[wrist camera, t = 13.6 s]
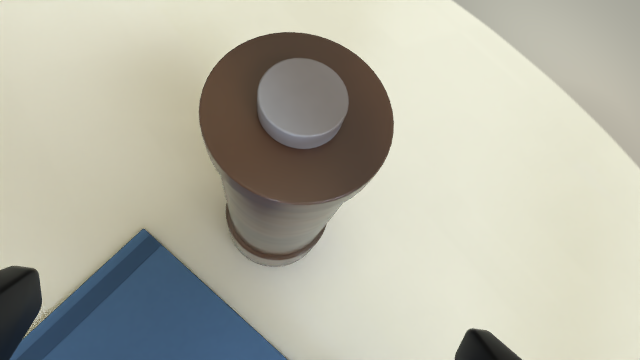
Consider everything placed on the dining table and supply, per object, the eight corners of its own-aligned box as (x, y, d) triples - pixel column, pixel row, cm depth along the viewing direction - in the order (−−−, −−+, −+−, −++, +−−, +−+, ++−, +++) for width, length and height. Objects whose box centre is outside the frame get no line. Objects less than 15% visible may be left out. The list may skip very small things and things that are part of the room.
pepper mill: (279, 286, 19) (318, 243, 8) (209, 224, 20) (145, 93, 8) (337, 217, 21) (440, 96, 9) (272, 161, 22) (293, -18, 10)
